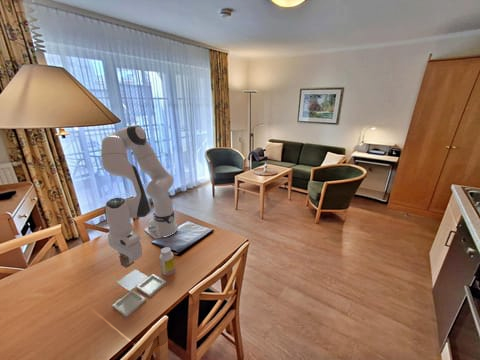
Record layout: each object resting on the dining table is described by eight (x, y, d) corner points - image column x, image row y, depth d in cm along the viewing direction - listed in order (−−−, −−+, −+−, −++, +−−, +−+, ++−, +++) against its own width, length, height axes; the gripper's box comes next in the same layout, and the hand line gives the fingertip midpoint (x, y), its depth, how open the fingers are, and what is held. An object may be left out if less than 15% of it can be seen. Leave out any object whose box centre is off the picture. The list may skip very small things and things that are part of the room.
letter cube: (121, 264, 99) (119, 255, 97) (129, 259, 102) (127, 250, 100) (126, 268, 97) (124, 258, 95) (134, 263, 100) (132, 253, 98)
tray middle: (136, 289, 97) (136, 286, 97) (153, 276, 105) (152, 273, 104) (150, 297, 93) (149, 294, 93) (166, 284, 101) (165, 280, 100)
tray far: (113, 308, 88) (112, 304, 88) (132, 292, 96) (132, 289, 95) (126, 318, 84) (125, 315, 84) (146, 301, 92) (145, 298, 91)
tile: (116, 283, 101) (116, 282, 100) (135, 270, 109) (135, 269, 109) (129, 292, 96) (129, 291, 96) (148, 277, 104) (148, 276, 104)
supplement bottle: (177, 268, 111) (175, 247, 106) (170, 277, 105) (167, 255, 100) (166, 265, 112) (164, 244, 108) (158, 274, 106) (155, 252, 102)
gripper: (101, 230, 97) (107, 256, 101) (129, 245, 87) (134, 272, 91) (115, 224, 102) (120, 249, 106) (142, 237, 92) (147, 263, 96)
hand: (127, 260), depth 99 cm, fingers closed on letter cube, 4 cm apart
